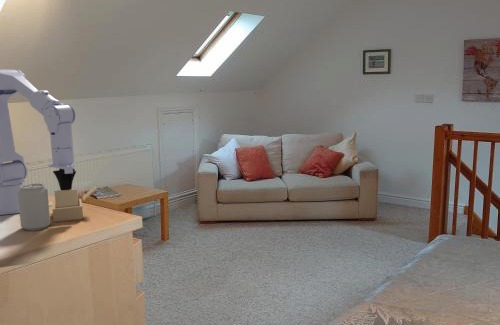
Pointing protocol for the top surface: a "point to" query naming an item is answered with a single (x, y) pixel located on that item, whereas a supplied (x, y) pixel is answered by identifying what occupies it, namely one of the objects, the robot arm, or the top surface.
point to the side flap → (89, 193)
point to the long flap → (66, 198)
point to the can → (33, 207)
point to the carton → (67, 212)
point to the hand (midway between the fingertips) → (66, 194)
